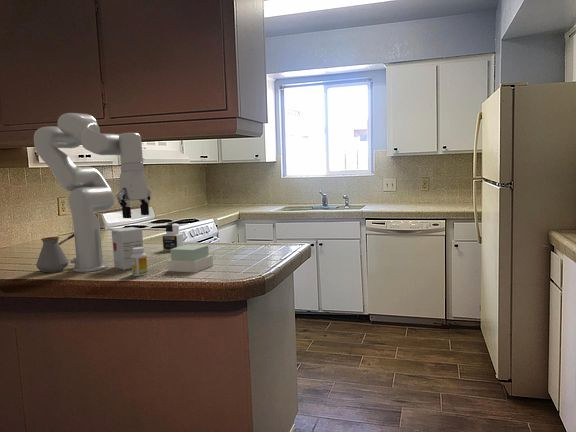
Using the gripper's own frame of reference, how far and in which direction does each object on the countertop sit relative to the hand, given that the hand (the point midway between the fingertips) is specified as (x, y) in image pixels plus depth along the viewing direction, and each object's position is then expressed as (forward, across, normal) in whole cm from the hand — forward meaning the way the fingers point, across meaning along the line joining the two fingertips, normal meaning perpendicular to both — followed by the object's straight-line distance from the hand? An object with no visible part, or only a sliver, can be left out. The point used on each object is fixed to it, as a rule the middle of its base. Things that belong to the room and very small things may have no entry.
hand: (136, 216), depth 178 cm
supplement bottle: (+21, 0, 0) cm, 21 cm away
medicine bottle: (+21, -49, -20) cm, 57 cm away
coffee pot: (+21, -3, -40) cm, 45 cm away
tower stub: (+21, -13, +12) cm, 28 cm away
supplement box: (+21, -11, -14) cm, 28 cm away
